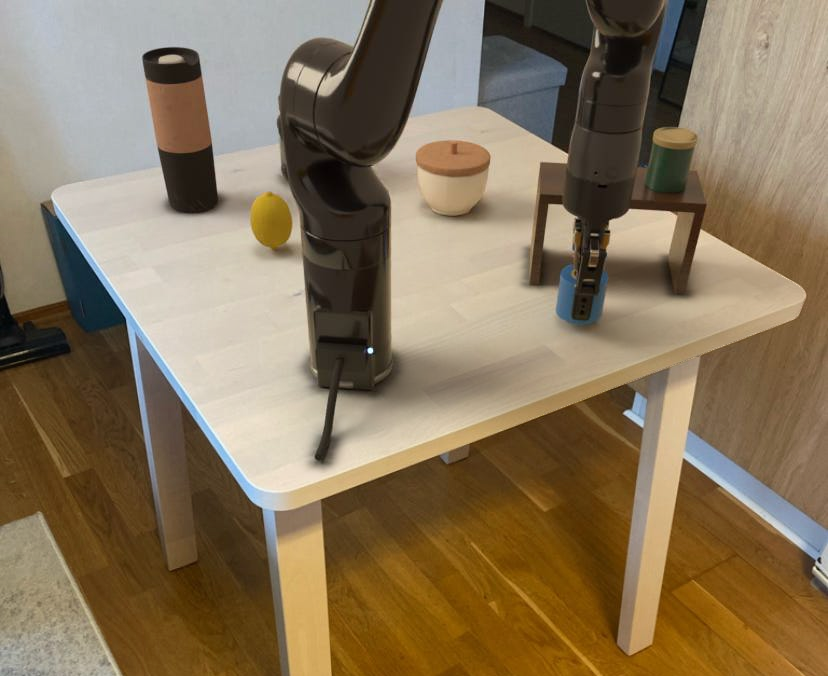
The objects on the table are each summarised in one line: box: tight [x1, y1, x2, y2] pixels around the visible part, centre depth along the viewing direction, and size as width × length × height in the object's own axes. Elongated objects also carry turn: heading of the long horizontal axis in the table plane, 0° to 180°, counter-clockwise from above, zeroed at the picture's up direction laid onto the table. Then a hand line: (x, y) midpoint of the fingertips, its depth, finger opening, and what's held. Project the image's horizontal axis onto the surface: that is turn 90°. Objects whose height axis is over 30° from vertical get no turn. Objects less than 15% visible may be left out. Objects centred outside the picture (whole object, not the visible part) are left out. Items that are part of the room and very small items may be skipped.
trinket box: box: [415, 139, 492, 217], centre depth 130 cm, size 11×11×9 cm
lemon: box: [250, 191, 293, 251], centre depth 120 cm, size 6×6×8 cm
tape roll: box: [555, 263, 609, 325], centre depth 107 cm, size 6×6×5 cm
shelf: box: [528, 161, 708, 296], centre depth 115 cm, size 10×20×12 cm, turn 84°
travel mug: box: [141, 46, 219, 214], centre depth 126 cm, size 8×8×20 cm
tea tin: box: [645, 126, 699, 193], centre depth 109 cm, size 5×5×6 cm
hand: (579, 305), depth 108 cm, fingers closed on tape roll, 5 cm apart
